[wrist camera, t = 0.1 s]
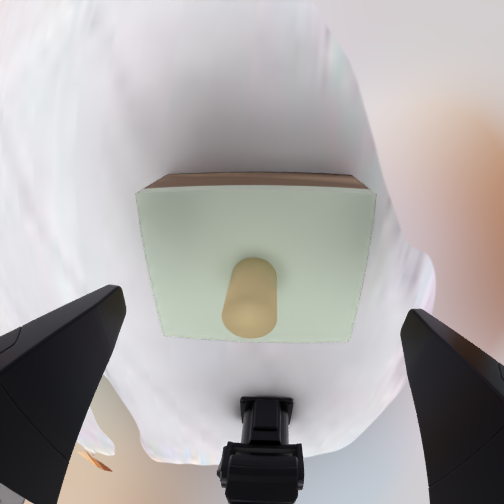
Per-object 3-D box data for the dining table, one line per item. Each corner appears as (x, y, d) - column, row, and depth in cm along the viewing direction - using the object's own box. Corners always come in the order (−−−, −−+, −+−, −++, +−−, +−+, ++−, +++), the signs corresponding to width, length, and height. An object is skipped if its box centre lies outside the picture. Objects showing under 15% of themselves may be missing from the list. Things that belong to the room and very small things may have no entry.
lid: (346, 331, 21) (359, 382, 16) (168, 325, 22) (147, 373, 17) (370, 189, 16) (404, 218, 11) (143, 188, 17) (101, 216, 12)
